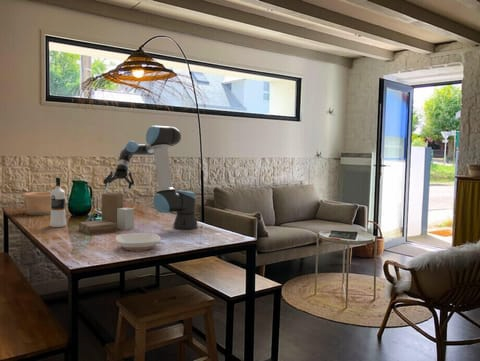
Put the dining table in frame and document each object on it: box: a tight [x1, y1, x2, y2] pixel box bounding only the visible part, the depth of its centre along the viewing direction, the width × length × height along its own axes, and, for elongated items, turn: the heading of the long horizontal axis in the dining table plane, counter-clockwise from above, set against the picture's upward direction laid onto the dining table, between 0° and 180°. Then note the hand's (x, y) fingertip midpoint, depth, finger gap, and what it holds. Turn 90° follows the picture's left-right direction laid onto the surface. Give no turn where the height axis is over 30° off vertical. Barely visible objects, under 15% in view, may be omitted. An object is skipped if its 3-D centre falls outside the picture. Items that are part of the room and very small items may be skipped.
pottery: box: [22, 191, 51, 216], centre depth 298 cm, size 22×22×14 cm
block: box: [101, 192, 124, 224], centre depth 264 cm, size 10×10×20 cm
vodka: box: [49, 177, 67, 228], centre depth 253 cm, size 9×9×30 cm
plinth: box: [78, 219, 118, 236], centre depth 245 cm, size 16×16×5 cm
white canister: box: [117, 207, 135, 230], centre depth 255 cm, size 7×7×12 cm
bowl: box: [115, 232, 162, 251], centre depth 207 cm, size 22×22×5 cm
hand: (116, 191), depth 273 cm, fingers open, 13 cm apart
